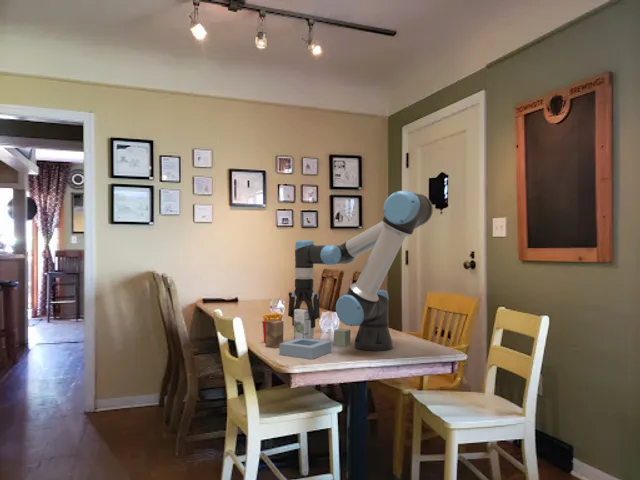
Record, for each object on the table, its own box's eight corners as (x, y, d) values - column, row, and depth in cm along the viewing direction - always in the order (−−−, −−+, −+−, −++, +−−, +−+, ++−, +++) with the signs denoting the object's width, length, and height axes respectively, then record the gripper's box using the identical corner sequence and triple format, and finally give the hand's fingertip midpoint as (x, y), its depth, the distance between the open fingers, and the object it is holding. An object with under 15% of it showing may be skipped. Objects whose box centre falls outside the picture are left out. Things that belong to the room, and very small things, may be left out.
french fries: (264, 343, 197) (265, 314, 197) (261, 342, 201) (261, 313, 201) (283, 341, 201) (284, 313, 201) (279, 340, 205) (280, 312, 205)
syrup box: (313, 344, 196) (313, 308, 196) (303, 346, 192) (303, 310, 192) (303, 342, 200) (303, 307, 200) (293, 344, 195) (293, 309, 196)
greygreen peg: (350, 344, 198) (350, 329, 198) (344, 346, 194) (344, 331, 194) (339, 342, 200) (339, 328, 201) (333, 345, 196) (334, 330, 196)
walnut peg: (283, 346, 193) (283, 321, 193) (276, 348, 189) (276, 322, 189) (273, 344, 195) (273, 320, 196) (265, 347, 191) (265, 321, 191)
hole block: (331, 352, 183) (331, 341, 183) (312, 359, 170) (312, 348, 171) (299, 347, 190) (299, 337, 190) (279, 354, 177) (279, 343, 178)
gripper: (329, 278, 195) (328, 336, 194) (289, 276, 204) (288, 331, 204) (320, 279, 188) (319, 339, 188) (279, 277, 198) (278, 334, 197)
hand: (303, 335), depth 196 cm, fingers closed on syrup box, 6 cm apart
